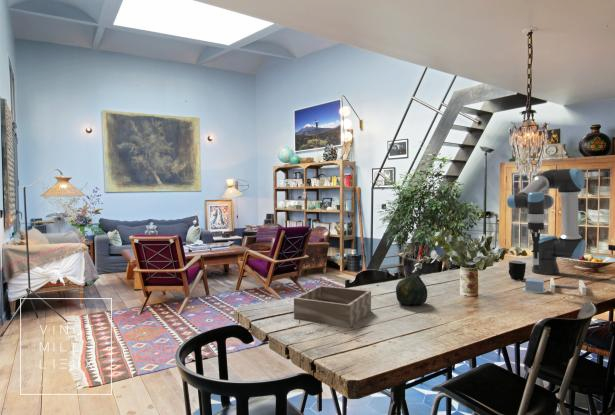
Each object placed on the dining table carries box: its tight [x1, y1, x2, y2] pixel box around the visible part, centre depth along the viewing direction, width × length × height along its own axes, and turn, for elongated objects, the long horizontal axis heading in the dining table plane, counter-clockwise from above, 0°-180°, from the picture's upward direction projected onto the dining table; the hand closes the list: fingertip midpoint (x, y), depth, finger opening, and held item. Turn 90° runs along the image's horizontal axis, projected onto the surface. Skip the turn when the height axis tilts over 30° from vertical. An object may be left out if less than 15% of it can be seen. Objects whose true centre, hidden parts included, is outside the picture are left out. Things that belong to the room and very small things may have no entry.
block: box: [524, 277, 545, 292], centre depth 225 cm, size 8×8×5 cm
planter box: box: [293, 285, 372, 329], centre depth 187 cm, size 25×25×9 cm
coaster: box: [522, 286, 548, 294], centre depth 225 cm, size 11×11×1 cm
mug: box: [508, 260, 527, 281], centre depth 251 cm, size 12×9×10 cm
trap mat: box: [555, 284, 579, 290], centre depth 230 cm, size 4×10×1 cm, turn 62°
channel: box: [549, 277, 587, 297], centre depth 225 cm, size 18×15×4 cm
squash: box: [395, 273, 428, 306], centre depth 203 cm, size 14×15×15 cm
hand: (535, 262), depth 224 cm, fingers open, 13 cm apart
